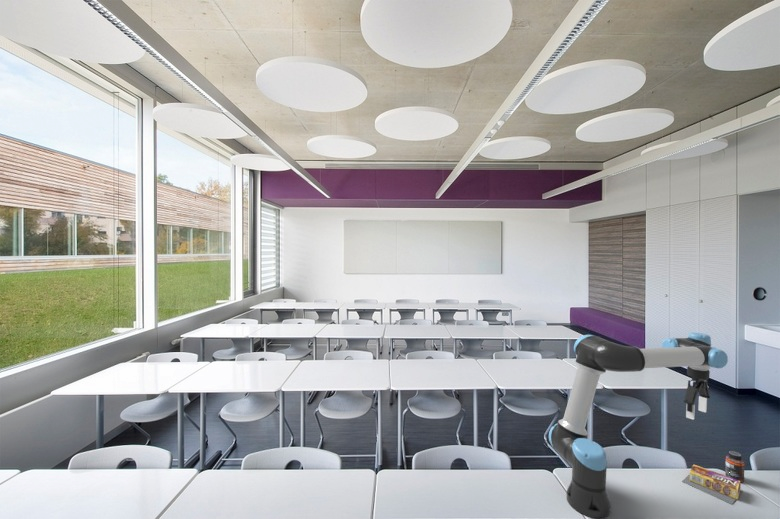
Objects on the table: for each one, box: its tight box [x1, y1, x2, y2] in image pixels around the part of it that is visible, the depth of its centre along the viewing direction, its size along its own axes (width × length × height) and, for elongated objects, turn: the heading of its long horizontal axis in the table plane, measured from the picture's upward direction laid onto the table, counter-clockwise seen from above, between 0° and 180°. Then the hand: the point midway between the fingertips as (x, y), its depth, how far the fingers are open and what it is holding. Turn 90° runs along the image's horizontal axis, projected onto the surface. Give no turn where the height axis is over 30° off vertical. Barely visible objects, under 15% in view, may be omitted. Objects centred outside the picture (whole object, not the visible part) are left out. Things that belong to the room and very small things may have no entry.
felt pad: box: [681, 473, 743, 505], centre depth 149 cm, size 16×14×1 cm
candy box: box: [688, 464, 742, 500], centre depth 149 cm, size 9×4×15 cm
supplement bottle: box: [724, 450, 745, 483], centre depth 155 cm, size 6×6×11 cm
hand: (696, 414), depth 156 cm, fingers open, 13 cm apart
